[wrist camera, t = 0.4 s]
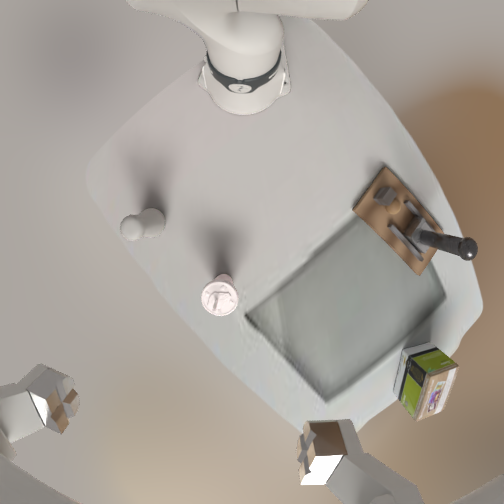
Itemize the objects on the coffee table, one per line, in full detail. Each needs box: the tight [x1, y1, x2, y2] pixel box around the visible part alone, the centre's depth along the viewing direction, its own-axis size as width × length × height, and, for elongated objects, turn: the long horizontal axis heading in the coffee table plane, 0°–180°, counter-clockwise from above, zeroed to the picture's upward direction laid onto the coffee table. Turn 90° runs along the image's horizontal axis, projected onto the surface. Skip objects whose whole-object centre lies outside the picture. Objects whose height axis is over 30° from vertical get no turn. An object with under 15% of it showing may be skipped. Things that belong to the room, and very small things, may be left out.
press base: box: [353, 167, 444, 276], centre depth 52 cm, size 23×12×6 cm, turn 52°
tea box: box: [393, 342, 459, 422], centre depth 54 cm, size 15×10×15 cm, turn 4°
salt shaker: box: [120, 208, 166, 241], centre depth 47 cm, size 6×6×13 cm
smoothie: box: [201, 274, 239, 316], centre depth 49 cm, size 6×6×14 cm
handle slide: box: [402, 216, 478, 261], centre depth 44 cm, size 6×5×19 cm
